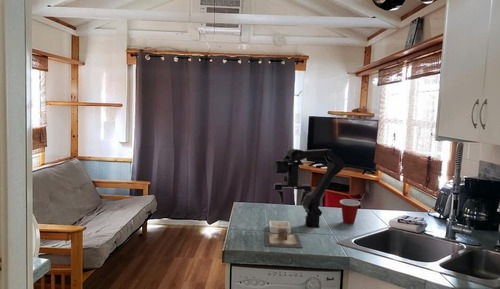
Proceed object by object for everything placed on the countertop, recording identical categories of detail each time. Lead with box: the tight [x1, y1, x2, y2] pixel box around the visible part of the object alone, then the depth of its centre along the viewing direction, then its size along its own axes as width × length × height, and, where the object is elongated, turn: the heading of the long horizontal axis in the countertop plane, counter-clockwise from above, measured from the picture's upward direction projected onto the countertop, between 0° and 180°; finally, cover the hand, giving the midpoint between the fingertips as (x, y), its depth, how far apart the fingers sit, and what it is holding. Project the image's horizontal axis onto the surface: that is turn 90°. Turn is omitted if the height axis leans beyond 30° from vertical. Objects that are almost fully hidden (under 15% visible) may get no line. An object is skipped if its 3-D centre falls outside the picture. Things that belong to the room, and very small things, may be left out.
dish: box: [268, 220, 292, 235], centre depth 183 cm, size 10×10×3 cm
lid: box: [268, 228, 297, 245], centre depth 167 cm, size 12×12×5 cm
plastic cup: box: [339, 198, 361, 225], centre depth 201 cm, size 11×11×12 cm
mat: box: [263, 232, 303, 249], centre depth 167 cm, size 16×16×1 cm
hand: (291, 203), depth 188 cm, fingers open, 9 cm apart
